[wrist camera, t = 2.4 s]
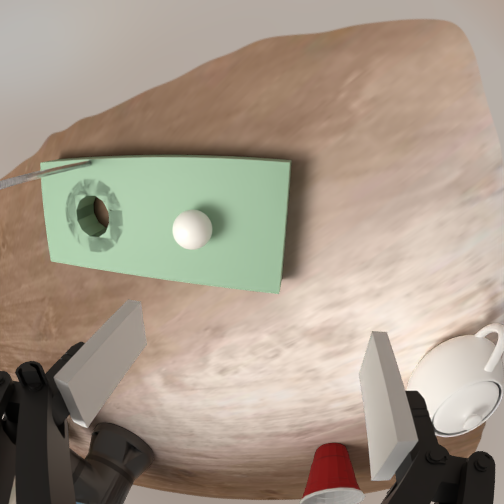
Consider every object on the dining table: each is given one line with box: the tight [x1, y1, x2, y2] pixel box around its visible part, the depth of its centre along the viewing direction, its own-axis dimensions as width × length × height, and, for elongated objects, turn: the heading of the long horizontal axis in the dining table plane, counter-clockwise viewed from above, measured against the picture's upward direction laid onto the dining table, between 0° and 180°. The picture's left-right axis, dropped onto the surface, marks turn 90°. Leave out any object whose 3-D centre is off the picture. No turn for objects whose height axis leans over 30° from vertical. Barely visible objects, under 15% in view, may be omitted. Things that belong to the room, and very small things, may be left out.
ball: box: [172, 210, 212, 250], centre depth 31 cm, size 4×4×4 cm
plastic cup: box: [299, 443, 365, 504], centre depth 43 cm, size 11×11×12 cm
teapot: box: [406, 323, 504, 437], centre depth 33 cm, size 25×16×12 cm, turn 171°
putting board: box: [40, 155, 291, 294], centre depth 36 cm, size 32×14×4 cm, turn 87°
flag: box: [0, 161, 91, 189], centre depth 26 cm, size 5×1×16 cm, turn 87°
